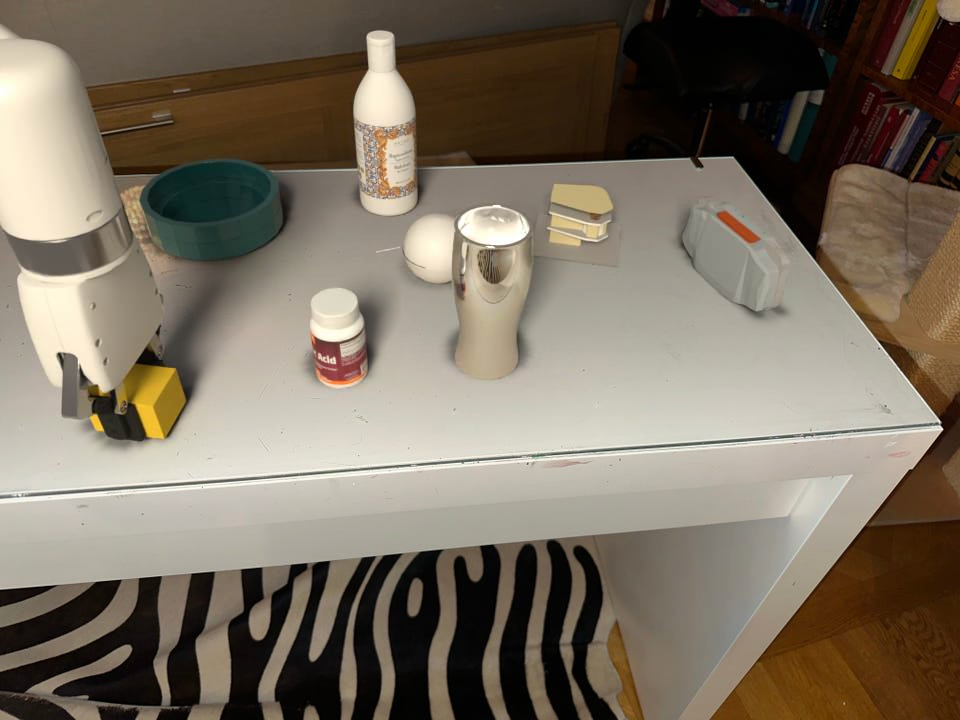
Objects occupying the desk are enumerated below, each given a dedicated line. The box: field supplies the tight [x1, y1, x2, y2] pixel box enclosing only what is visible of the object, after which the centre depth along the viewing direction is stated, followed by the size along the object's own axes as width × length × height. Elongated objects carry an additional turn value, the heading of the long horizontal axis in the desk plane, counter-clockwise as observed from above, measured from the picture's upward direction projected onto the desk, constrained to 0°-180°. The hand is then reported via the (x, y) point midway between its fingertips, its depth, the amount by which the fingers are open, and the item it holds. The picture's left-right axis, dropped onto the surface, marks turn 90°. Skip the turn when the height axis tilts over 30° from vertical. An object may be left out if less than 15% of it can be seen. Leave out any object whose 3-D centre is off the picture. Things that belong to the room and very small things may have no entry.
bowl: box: [139, 157, 284, 262], centre depth 85 cm, size 15×15×5 cm
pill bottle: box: [309, 287, 369, 389], centre depth 67 cm, size 5×5×8 cm
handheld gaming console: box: [681, 195, 791, 312], centre depth 79 cm, size 14×3×8 cm, turn 24°
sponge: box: [89, 364, 187, 440], centre depth 63 cm, size 6×4×4 cm
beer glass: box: [451, 203, 535, 381], centre depth 67 cm, size 7×7×15 cm
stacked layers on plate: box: [533, 183, 622, 268], centre depth 85 cm, size 10×9×6 cm
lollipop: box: [376, 212, 456, 284], centre depth 79 cm, size 10×7×7 cm
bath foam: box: [352, 30, 419, 217], centre depth 85 cm, size 7×7×20 cm
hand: (140, 412), depth 64 cm, fingers closed on sponge, 4 cm apart
